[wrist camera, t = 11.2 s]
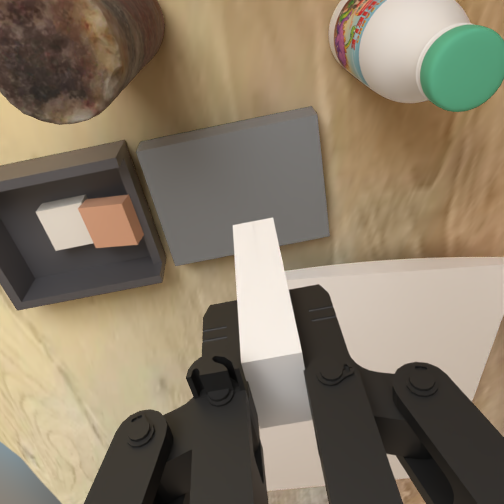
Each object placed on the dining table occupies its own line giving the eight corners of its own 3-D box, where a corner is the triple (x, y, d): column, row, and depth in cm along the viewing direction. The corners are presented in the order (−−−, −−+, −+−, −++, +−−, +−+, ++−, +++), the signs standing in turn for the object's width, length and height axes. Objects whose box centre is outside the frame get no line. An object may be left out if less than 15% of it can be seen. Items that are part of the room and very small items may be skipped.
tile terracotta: (86, 199, 47) (77, 208, 46) (128, 194, 46) (121, 203, 45) (103, 238, 50) (96, 248, 48) (144, 234, 49) (137, 244, 47)
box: (-33, 172, 46) (-58, 193, 42) (124, 139, 46) (115, 157, 41) (32, 284, 54) (17, 310, 50) (166, 257, 54) (162, 282, 50)
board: (250, 259, 55) (253, 282, 51) (500, 242, 57) (522, 263, 53) (260, 465, 80) (262, 491, 76) (434, 450, 81) (445, 474, 77)
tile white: (41, 203, 48) (35, 212, 47) (85, 194, 48) (81, 202, 46) (60, 241, 51) (55, 250, 49) (102, 233, 51) (99, 242, 49)
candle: (62, 21, 39) (-50, 63, 23) (108, -51, 37) (20, -65, 20) (134, 82, 43) (82, 157, 26) (181, 18, 40) (158, 57, 23)
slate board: (140, 141, 46) (135, 151, 43) (311, 106, 45) (317, 114, 43) (177, 252, 53) (175, 266, 51) (324, 223, 53) (329, 236, 50)
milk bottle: (425, 8, 41) (570, 37, 24) (377, 86, 44) (474, 159, 28) (356, -37, 39) (464, -38, 22) (311, 49, 42) (375, 106, 25)
